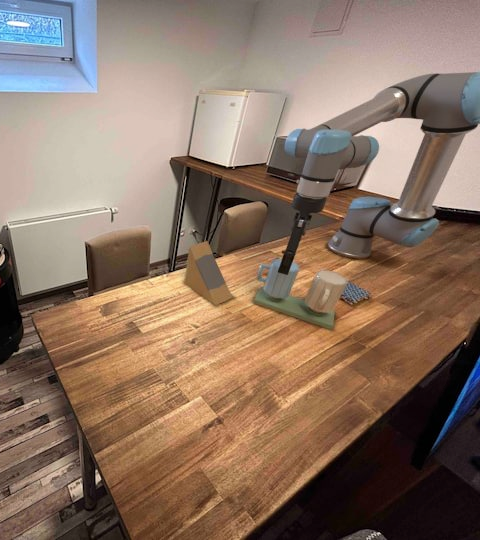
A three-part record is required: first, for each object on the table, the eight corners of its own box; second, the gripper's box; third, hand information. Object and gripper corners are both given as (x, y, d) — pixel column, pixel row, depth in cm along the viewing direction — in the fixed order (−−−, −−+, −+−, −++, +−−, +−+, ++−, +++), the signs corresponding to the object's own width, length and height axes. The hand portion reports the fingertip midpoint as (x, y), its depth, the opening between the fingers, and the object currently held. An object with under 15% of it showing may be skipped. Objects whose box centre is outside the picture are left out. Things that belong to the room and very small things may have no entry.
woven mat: (320, 288, 102) (322, 283, 101) (340, 281, 106) (343, 277, 105) (350, 306, 94) (353, 301, 93) (371, 298, 98) (374, 293, 97)
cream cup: (301, 311, 85) (314, 283, 80) (305, 293, 93) (317, 267, 87) (331, 321, 82) (347, 293, 76) (333, 302, 89) (347, 275, 84)
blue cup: (257, 278, 100) (265, 253, 94) (290, 289, 95) (301, 263, 89) (251, 289, 94) (259, 263, 89) (286, 301, 89) (297, 274, 84)
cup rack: (259, 289, 102) (270, 256, 94) (332, 313, 91) (351, 277, 84) (253, 302, 95) (264, 268, 88) (331, 329, 85) (351, 293, 78)
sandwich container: (215, 305, 94) (224, 266, 86) (183, 282, 105) (188, 246, 97) (233, 297, 98) (243, 259, 90) (200, 275, 109) (207, 240, 101)
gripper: (301, 181, 87) (280, 243, 99) (287, 206, 70) (264, 278, 81) (330, 185, 83) (305, 249, 95) (323, 212, 66) (294, 287, 78)
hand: (286, 263), depth 88 cm, fingers open, 13 cm apart
